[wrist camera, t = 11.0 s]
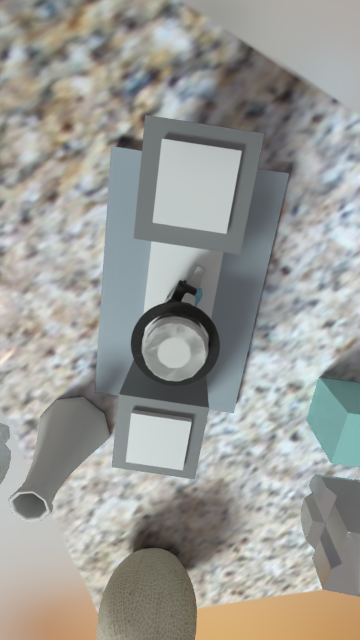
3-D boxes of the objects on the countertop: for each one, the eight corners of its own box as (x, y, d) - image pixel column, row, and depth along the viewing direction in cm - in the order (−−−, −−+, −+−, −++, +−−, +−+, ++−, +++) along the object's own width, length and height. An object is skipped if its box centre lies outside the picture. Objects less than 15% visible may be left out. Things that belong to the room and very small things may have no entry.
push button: (173, 251, 25) (162, 268, 16) (230, 280, 26) (251, 314, 16) (140, 319, 27) (112, 370, 18) (193, 345, 28) (194, 408, 18)
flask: (122, 438, 33) (93, 524, 24) (67, 460, 34) (19, 551, 25) (87, 384, 31) (40, 455, 22) (30, 410, 33) (-37, 488, 23)
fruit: (214, 575, 39) (226, 777, 25) (132, 593, 41) (99, 793, 26) (185, 516, 36) (180, 706, 22) (98, 538, 38) (42, 728, 24)
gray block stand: (285, 175, 25) (347, 143, 15) (232, 407, 31) (250, 491, 22) (114, 149, 25) (62, 99, 15) (97, 387, 31) (54, 463, 21)
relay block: (348, 413, 24) (318, 377, 30) (331, 462, 26) (306, 419, 32) (410, 421, 24) (368, 383, 30) (389, 470, 26) (353, 426, 32)
